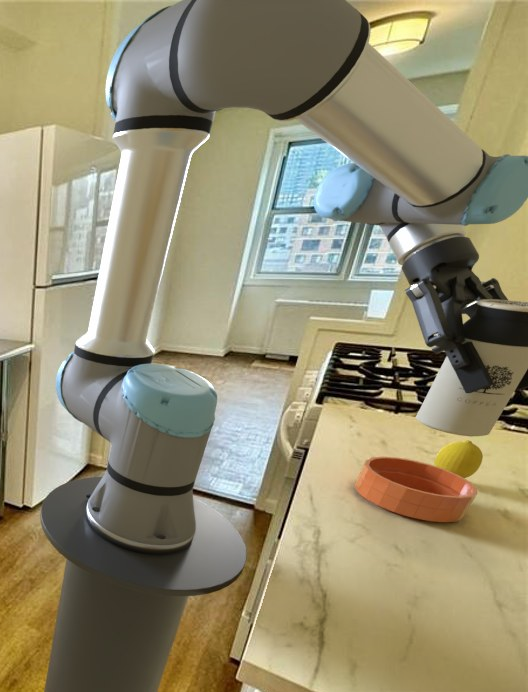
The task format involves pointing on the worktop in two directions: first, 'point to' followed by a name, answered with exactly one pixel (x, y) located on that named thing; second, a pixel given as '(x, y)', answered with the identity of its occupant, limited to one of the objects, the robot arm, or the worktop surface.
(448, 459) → the lemon
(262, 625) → the worktop surface
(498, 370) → the travel mug
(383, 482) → the bowl
